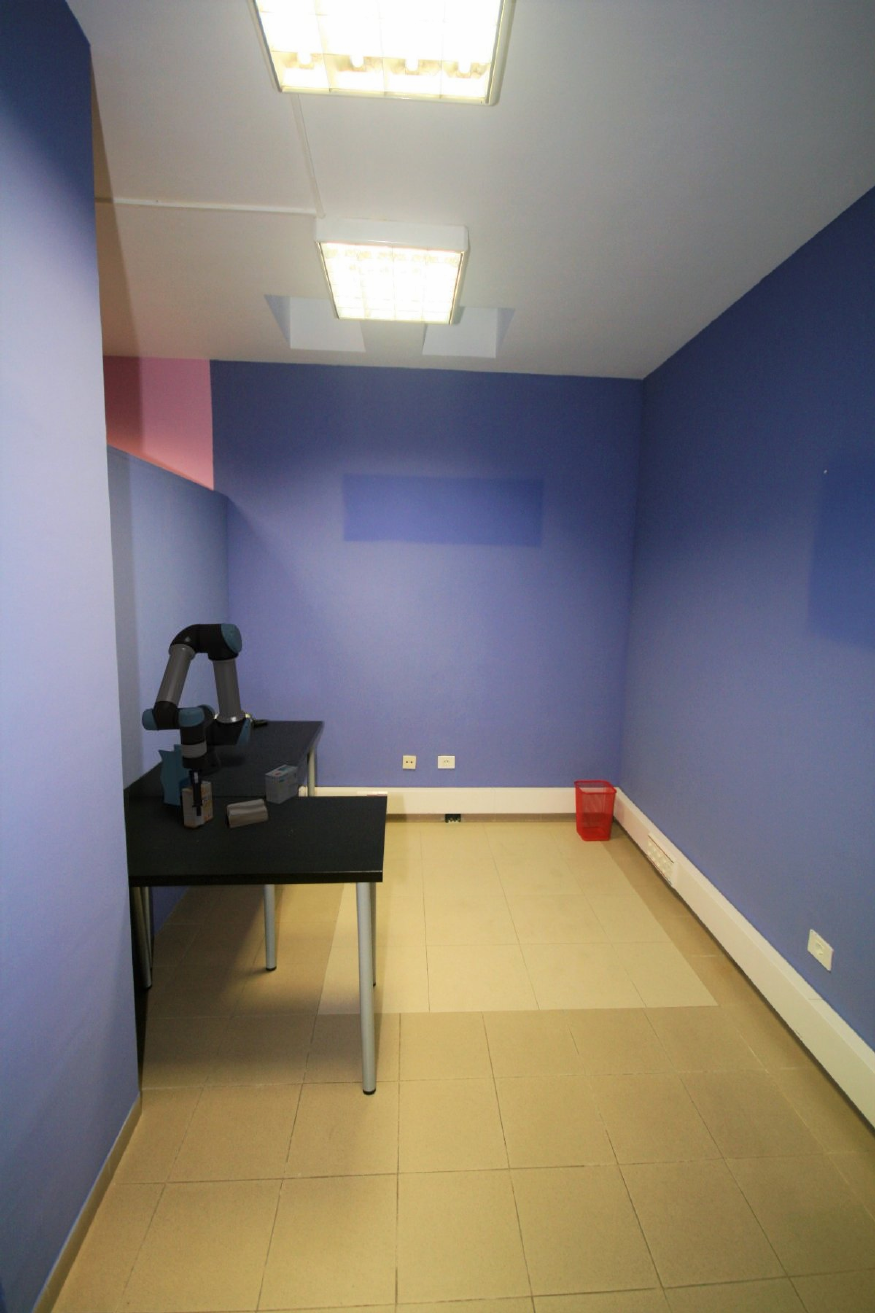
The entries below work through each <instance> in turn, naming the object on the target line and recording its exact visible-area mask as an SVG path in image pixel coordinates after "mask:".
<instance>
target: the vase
mask: <svg viewBox="0 0 875 1313" xmlns="http://www.w3.org/2000/svg"><path fill="white" fill-rule="evenodd" d="M179 746H181V743H180V744H178V743H173V751H171V750H164V749H158V750H157V752H158V754H159V755H160V757H161V762H162V769H161V773H160V777H159V780H160V781H161V782H160V783H161V784H162V787H163V791H164V792H163V793H164V798H163V799H164V800H163V803H165V804H170V805H175V806H181V798H180V797H183V796H182V789H184V788H186V787H189V786H191V780H190V778H189V770H191V769H186V768H184V767H183V766H182V756H183V755H182V752H181V750H182V749H179Z"/></svg>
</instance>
